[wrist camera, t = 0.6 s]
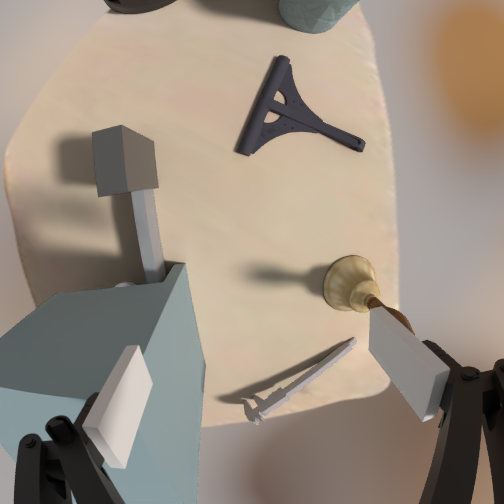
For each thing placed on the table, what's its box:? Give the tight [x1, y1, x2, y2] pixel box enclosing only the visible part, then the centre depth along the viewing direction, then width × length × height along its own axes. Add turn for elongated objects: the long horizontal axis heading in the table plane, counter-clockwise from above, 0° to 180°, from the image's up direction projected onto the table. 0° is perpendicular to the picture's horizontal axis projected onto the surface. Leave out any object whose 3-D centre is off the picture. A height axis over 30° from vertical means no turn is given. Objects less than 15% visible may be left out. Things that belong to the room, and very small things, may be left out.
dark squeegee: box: [237, 55, 366, 156], centre depth 34 cm, size 14×15×3 cm
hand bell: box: [323, 256, 415, 335], centre depth 33 cm, size 8×8×16 cm
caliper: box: [244, 337, 357, 426], centre depth 41 cm, size 20×1×6 cm, turn 123°
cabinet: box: [0, 263, 206, 504], centre depth 27 cm, size 16×17×26 cm
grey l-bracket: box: [92, 125, 167, 284], centre depth 30 cm, size 20×3×12 cm, turn 6°
